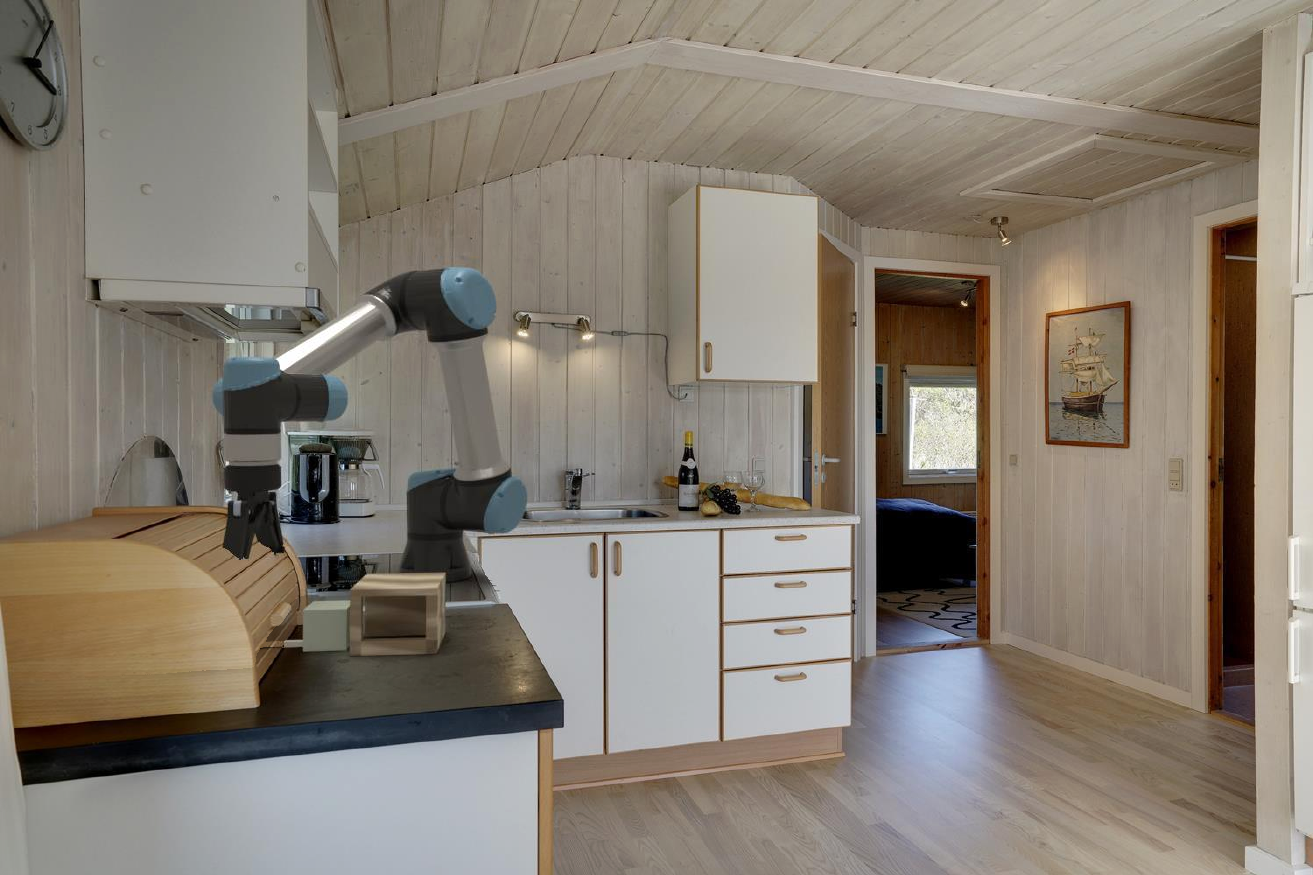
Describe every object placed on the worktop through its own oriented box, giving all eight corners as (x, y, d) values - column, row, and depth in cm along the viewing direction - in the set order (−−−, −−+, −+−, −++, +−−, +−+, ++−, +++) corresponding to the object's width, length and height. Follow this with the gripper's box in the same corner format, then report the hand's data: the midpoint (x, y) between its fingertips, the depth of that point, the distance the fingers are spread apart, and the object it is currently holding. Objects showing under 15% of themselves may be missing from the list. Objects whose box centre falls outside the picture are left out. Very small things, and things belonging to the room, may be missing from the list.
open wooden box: (366, 634, 129) (367, 573, 129) (445, 632, 131) (445, 572, 130) (349, 655, 117) (350, 589, 117) (436, 653, 119) (437, 588, 119)
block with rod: (250, 642, 123) (250, 569, 123) (354, 639, 126) (355, 567, 126) (236, 653, 117) (236, 576, 117) (346, 650, 120) (346, 575, 120)
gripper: (254, 457, 132) (255, 589, 133) (190, 469, 107) (192, 631, 108) (303, 457, 133) (304, 587, 134) (251, 469, 108) (253, 629, 109)
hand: (254, 607), depth 121 cm, fingers open, 13 cm apart
